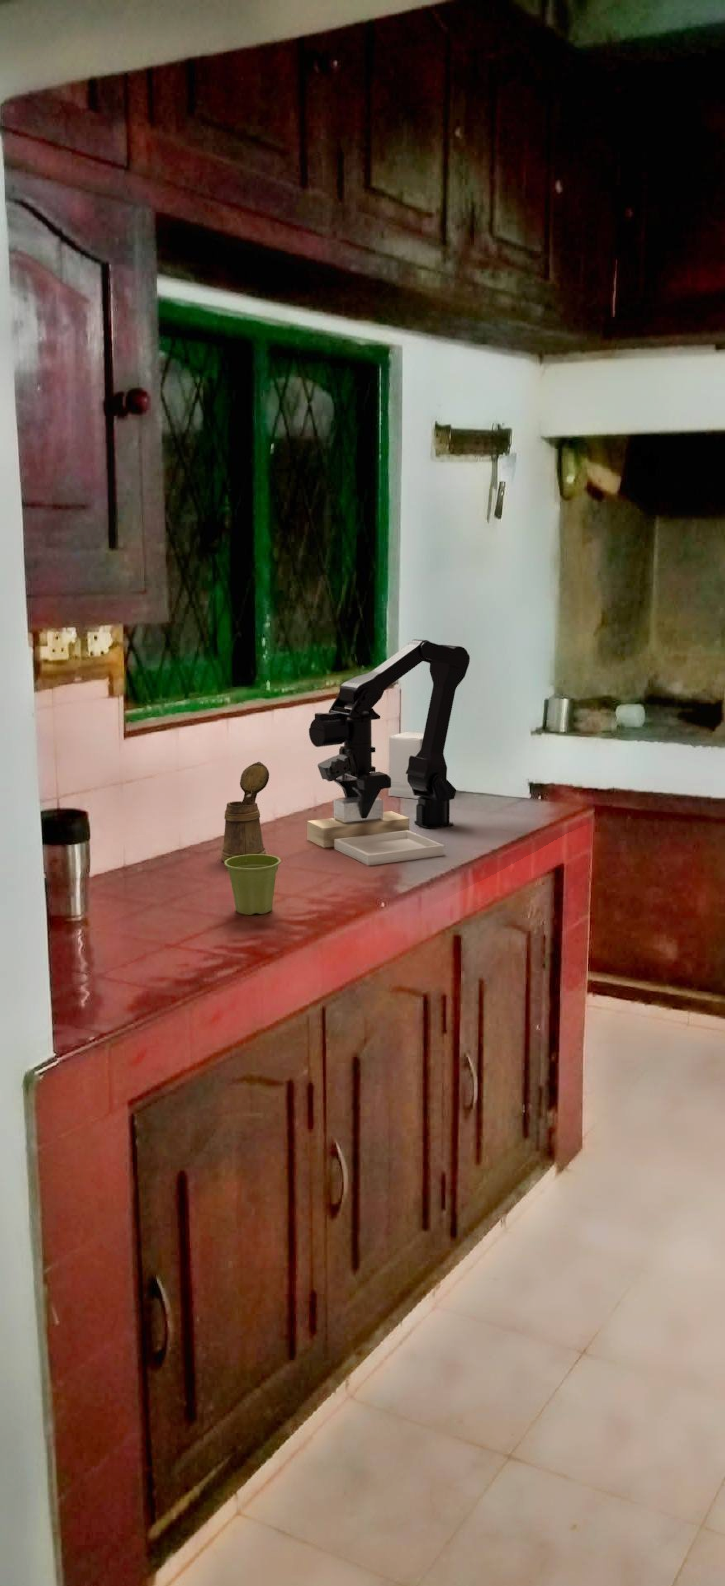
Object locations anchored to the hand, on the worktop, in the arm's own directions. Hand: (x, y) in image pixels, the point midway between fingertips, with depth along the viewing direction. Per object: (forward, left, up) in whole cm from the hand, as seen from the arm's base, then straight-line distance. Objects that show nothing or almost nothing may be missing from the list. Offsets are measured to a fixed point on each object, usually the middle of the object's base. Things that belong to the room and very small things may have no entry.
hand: (358, 815), depth 261 cm
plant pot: (+39, +38, -5) cm, 55 cm away
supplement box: (-32, -34, -5) cm, 47 cm away
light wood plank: (0, 0, -5) cm, 5 cm away
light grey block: (0, 0, 0) cm, 0 cm away
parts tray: (0, +13, -5) cm, 14 cm away
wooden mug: (+26, +3, -5) cm, 27 cm away
